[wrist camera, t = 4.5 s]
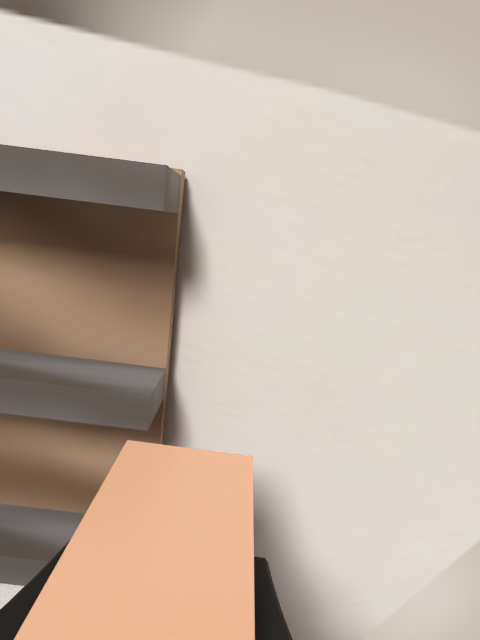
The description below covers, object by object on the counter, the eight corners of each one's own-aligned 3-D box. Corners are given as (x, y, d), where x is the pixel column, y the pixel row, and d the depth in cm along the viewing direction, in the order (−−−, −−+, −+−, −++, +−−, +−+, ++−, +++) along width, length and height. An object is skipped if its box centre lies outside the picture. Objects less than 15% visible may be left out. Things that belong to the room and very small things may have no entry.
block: (232, 582, 14) (214, 944, 7) (118, 567, 14) (-16, 915, 7) (252, 456, 12) (256, 740, 6) (127, 440, 12) (-24, 705, 6)
